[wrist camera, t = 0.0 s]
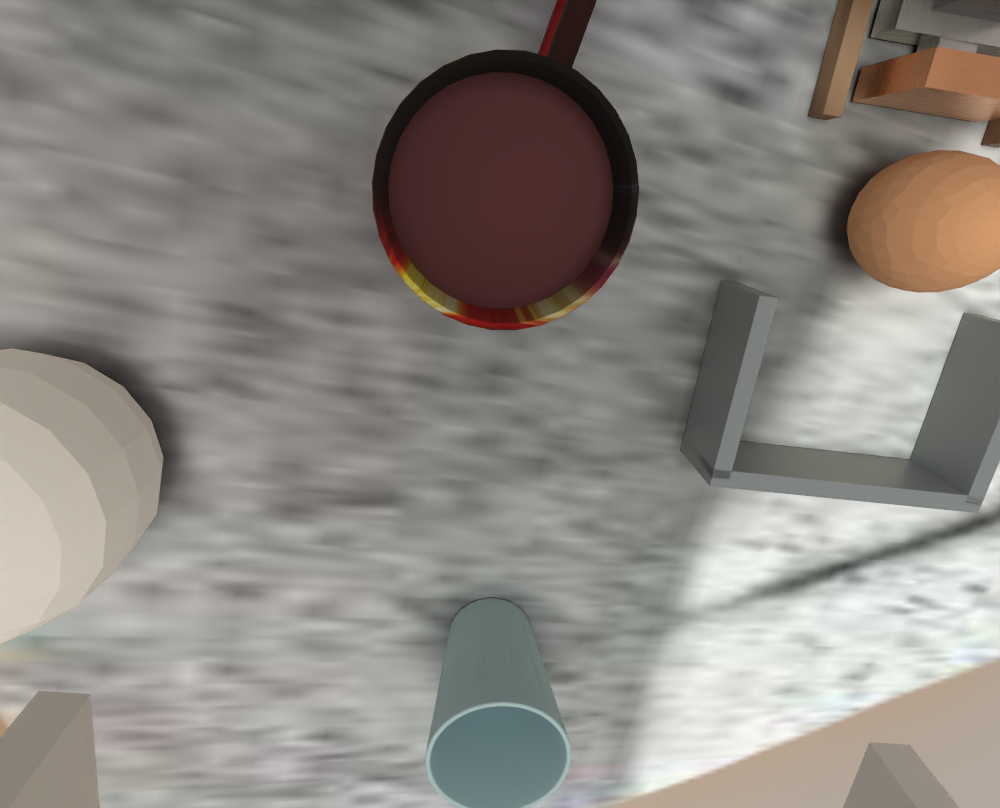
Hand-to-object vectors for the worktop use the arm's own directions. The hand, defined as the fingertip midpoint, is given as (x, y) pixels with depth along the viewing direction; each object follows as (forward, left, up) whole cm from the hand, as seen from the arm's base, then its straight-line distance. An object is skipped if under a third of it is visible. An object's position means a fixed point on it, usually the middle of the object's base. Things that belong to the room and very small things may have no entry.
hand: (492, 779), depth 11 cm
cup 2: (+19, +4, -28) cm, 34 cm away
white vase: (+8, -22, -28) cm, 37 cm away
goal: (-1, +22, -28) cm, 35 cm away
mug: (-11, 0, -28) cm, 30 cm away
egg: (-11, +22, -28) cm, 37 cm away
